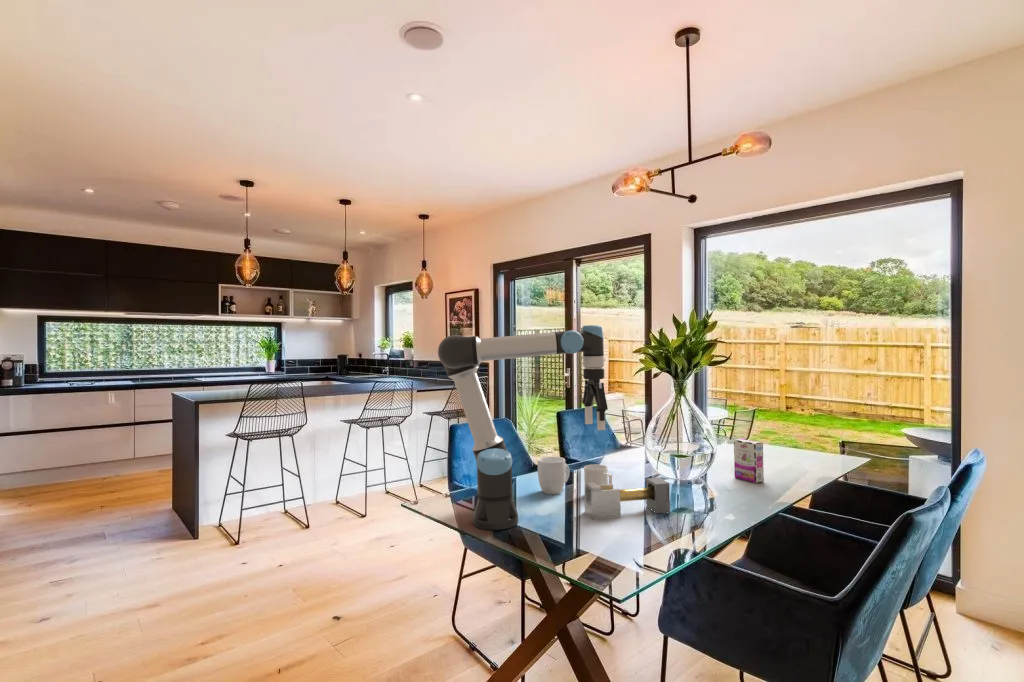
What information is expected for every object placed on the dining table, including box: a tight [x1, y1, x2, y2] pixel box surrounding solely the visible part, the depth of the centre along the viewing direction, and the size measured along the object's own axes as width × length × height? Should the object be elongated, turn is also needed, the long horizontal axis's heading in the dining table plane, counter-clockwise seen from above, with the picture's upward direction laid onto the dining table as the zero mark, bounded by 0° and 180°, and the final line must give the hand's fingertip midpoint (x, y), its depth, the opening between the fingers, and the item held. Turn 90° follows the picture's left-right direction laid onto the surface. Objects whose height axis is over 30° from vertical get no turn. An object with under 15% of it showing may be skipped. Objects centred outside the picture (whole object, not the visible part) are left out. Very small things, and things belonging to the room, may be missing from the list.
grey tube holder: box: [584, 482, 622, 520], centre depth 185 cm, size 10×8×10 cm
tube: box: [620, 486, 655, 503], centre depth 187 cm, size 22×4×4 cm, turn 100°
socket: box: [645, 477, 671, 514], centre depth 188 cm, size 5×8×10 cm, turn 10°
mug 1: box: [537, 456, 571, 496], centre depth 214 cm, size 15×11×13 cm
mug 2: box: [583, 463, 613, 487], centre depth 205 cm, size 12×9×11 cm
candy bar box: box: [733, 438, 765, 484], centre depth 225 cm, size 11×5×16 cm, turn 25°
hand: (594, 427), depth 194 cm, fingers open, 13 cm apart
